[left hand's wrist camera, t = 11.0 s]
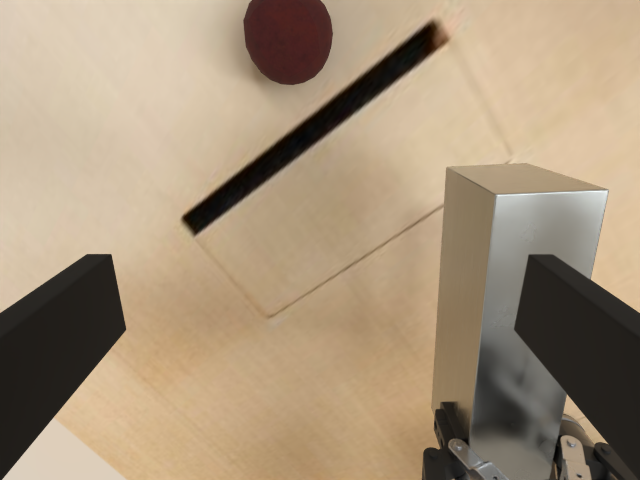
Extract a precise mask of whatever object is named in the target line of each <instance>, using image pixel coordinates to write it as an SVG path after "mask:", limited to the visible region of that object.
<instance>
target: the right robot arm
mask: <svg viewBox="0 0 640 480" xmlns="http://www.w3.org/2000/svg"><path fill="white" fill-rule="evenodd" d="M434 431H435V434H436V437H437V439H438V443H439V446H440V449H439V450H438V449H436V448H431V447H430V448H427V449H425V450H424V453H423V469H422V480H509V479H508V478H507V477H506V476H505V475H504V474H503V473H502V472H501V471H500V470H499V469H498V468H497V467H496V466H495V465H494V464H493V463H492V462H490V461H486V462H484V461H483V460H482V459H481V458H480V457H479V456H478V455H477V454H476V453H475V452H474V451H473V450H472V449H471V448H470V447H469V446H468V445H467V444H466V443H465V436H464V434H463V432H462V429H461V427H460V424H459V422H458V420H457V417H456V415H455V412H454V410H453V408H452V405H451V403H450V402H449V401H447V402H440V409H436V411H435V420H434ZM546 480H638V479H637V478H636V477H635V475H634V474H633V473H632V472H631V471H630V469H629V468H628V467H627V466H626V464H625V463H624V462H623V461H622V460H621V458H620V457H619V456H618V455H617V454H616V452H615V451H614V450H613V449H612V448H611V446H610V445H608V444H606V443H602V442H598V443H596V444H595V445H594V443H593V442H592V441H591V439H590V438H589V437H588V436H587V434H586V433H585V431H584V429H583V428H582V427H581V426H580V424H579V423H578V422H577V421H576V420H575V419H574V418H572V417H570V416H568V415H565V414H563V416H562V420H561V425H560V430H559V435H558V440H557V445H556V450H555V454H554V459H553V464H552V469H551V474H550V479H546Z"/></svg>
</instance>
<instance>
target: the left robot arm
mask: <svg viewBox="0 0 640 480" xmlns="http://www.w3.org/2000/svg"><path fill="white" fill-rule="evenodd" d="M125 331H126V326H125V321H124V316H123V311H122V306H121V301H120V296H119V290H118V285H117V280H116V275H115V270H114V265H113V260H112V255H111V254H87V255H85V256H84V257H82V258H81V259H79V260H78V261H76V262H75V263H73V264H72V265H70V266H69V267H68V268H66V269H65V270H63V271H62V272H60V273H59V274H57V275H56V276H54V277H53V278H51V279H50V280H48V281H47V282H45V283H44V284H43V285H41V286H40V287H38V288H37V289H35V290H34V291H32V292H31V293H29V294H28V295H26V296H25V297H23V298H22V299H20V300H19V301H18V302H16V303H15V304H13V305H12V306H10V307H9V308H7V309H6V310H4V311H3V312H1V313H0V480H2V479H3V478H4V476H5V475H6V474H7V473H8V472H9V471H10V469H11V468H12V467H13V466H14V464H15V463H16V462H17V461H18V460H19V458H20V457H21V456H22V455H23V454H24V452H25V451H26V450H27V449H28V448H29V446H30V445H31V444H32V443H33V442H34V440H35V439H36V438H37V437H38V435H39V434H40V433H41V432H42V431H43V430H44V428H45V427H46V426H47V425H48V423H49V422H50V421H51V420H52V419H53V417H54V416H55V415H56V414H57V413H58V411H59V410H60V409H61V408H62V407H63V405H64V404H65V403H66V402H67V401H68V399H69V398H70V397H71V396H72V395H73V393H74V392H75V391H76V390H77V388H78V387H79V386H80V385H81V384H82V382H83V381H84V380H85V379H86V378H87V376H88V375H89V374H90V373H91V372H92V370H93V369H94V368H95V367H96V366H97V364H98V363H99V362H100V361H101V360H102V358H103V357H104V356H105V355H106V353H107V352H108V351H109V350H110V349H111V347H112V346H113V345H114V344H115V343H116V341H117V340H118V339H119V338H120V337H121V335H122V334H123V333H124V332H125ZM514 331H515V332H516V333H517V334H518V335H519V337H520V338H521V339H522V340H523V341H524V343H525V344H526V345H527V346H528V347H529V349H530V350H531V351H532V352H533V353H534V355H535V356H536V357H537V358H538V360H539V361H540V362H541V363H542V364H543V366H544V367H545V368H546V369H547V370H548V372H549V373H550V374H551V375H552V376H553V378H554V379H555V380H556V381H557V382H558V384H559V385H560V386H561V387H562V388H563V390H564V391H565V392H566V393H567V395H568V396H569V397H570V398H571V399H572V401H573V402H574V403H575V404H576V405H577V407H578V408H579V409H580V410H581V411H582V413H583V414H584V415H585V416H586V417H587V419H588V420H589V421H590V422H591V423H592V425H593V426H594V427H595V428H596V430H597V431H598V432H599V433H600V434H601V436H602V437H603V438H604V439H605V440H606V442H607V443H608V444H609V445H610V446H611V448H612V449H613V450H614V451H615V452H616V454H617V455H618V456H619V457H620V458H621V460H622V461H623V462H624V463H625V464H626V466H627V467H628V468H629V469H630V471H631V472H632V473H633V474H634V475H635V477H636V478H637V479H638V480H640V313H639V312H637V311H636V310H634V309H633V308H631V307H630V306H628V305H627V304H625V303H624V302H622V301H621V300H620V299H618V298H617V297H615V296H614V295H612V294H611V293H609V292H608V291H606V290H605V289H603V288H602V287H600V286H599V285H597V284H596V283H595V282H593V281H592V280H590V279H589V278H587V277H586V276H584V275H583V274H581V273H580V272H578V271H577V270H575V269H574V268H572V267H571V266H570V265H568V264H567V263H565V262H564V261H562V260H561V259H559V258H558V257H556V256H555V255H553V254H529V255H528V260H527V265H526V270H525V275H524V280H523V285H522V290H521V296H520V301H519V306H518V311H517V316H516V321H515V326H514Z"/></svg>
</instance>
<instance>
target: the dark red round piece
mask: <svg viewBox="0 0 640 480" xmlns="http://www.w3.org/2000/svg"><path fill="white" fill-rule="evenodd" d="M244 31H245V42H246V48H247V50H248V52H249V54H250V57H251V59H252V60H253V62H254V63H255V65H256V66H257V67H258V69H259V70H260V71H261V73H263V74H264V75H265V76H267V77H268V78H269V79H270V80H272V81H275V82H277V83H280V84H287V85H294V84H299V83H304V82H306V81H308V80H309V79H311V78H313V77H315V76H316V75H317V74H318V72H319V71H320V70H321V69H322V68H323V66H324V64H325V62H326V60H327V58H328V56H329V52H330V49H331V44H332V36H333V32H332V24H331V19H330V16H329V14H328V11H327V9H326V7H325V5H324V4H323V3H322V2H321V1H320V0H252V1H251V2H250V3H249V6H248V9H247V12H246V15H245V18H244Z"/></svg>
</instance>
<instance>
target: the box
mask: <svg viewBox="0 0 640 480" xmlns="http://www.w3.org/2000/svg"><path fill="white" fill-rule="evenodd" d="M608 192H609V190H608V189H605V188H602V187H599V186H596V185H593V184H590V183H587V182H584V181H580V180H577V179H574V178H571V177H568V176H565V175H562V174H559V173H555V172H552V171H549V170H546V169H543V168H540V167H537V166H534V165H530V164H527V163H521V164H499V165H477V166H454V167H447V168H446V181H445V197H444V213H443V229H442V246H441V262H440V278H439V294H438V310H437V326H436V342H435V358H434V374H433V390H432V406H431V408H432V411H433V414H434V417H435V411H436V409H440V402H447V401H449V402H450V403H451V405H452V408H453V410H454V412H455V415H456V417H457V420H458V422H459V424H460V427H461V429H462V432H463V434H464V436H465V443H466V444H467V445H468V446H469V447H470V448H471V449H472V450H473V451H474V452H475V453H476V454H477V455H478V456H479V457H480V458H481V459H482V460H483V461H484V462H486V461H490V462H492V463H493V464H494V465H495V466H496V467H497V468H498V469H499V470H500V471H501V472H502V473H503V474H504V475H505V476H506V477H507V478H508V479H509V480H546V479H550V474H551V469H552V464H553V459H554V454H555V450H556V445H557V440H558V435H559V430H560V425H561V420H562V416H563V411H564V406H565V401H566V396H567V393H566V392H565V391H564V390H563V388H562V387H561V386H560V385H559V384H558V382H557V381H556V380H555V379H554V378H553V376H552V375H551V374H550V373H549V372H548V370H547V369H546V368H545V367H544V366H543V364H542V363H541V362H540V361H539V360H538V358H537V357H536V356H535V355H534V353H533V352H532V351H531V350H530V349H529V347H528V346H527V345H526V344H525V343H524V341H523V340H522V339H521V338H520V337H519V335H518V334H517V333H516V332H515V331H514V326H515V321H516V316H517V311H518V306H519V301H520V296H521V290H522V285H523V280H524V275H525V270H526V265H527V260H528V255H529V254H553V255H555V256H556V257H558V258H559V259H561V260H562V261H564V262H565V263H567V264H568V265H570V266H571V267H572V268H574V269H575V270H577V271H578V272H580V273H581V274H583V275H584V276H586V277H587V278H589V279H590V280H591V275H592V270H593V265H594V260H595V255H596V250H597V246H598V241H599V236H600V231H601V226H602V221H603V216H604V212H605V207H606V202H607V197H608Z"/></svg>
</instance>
